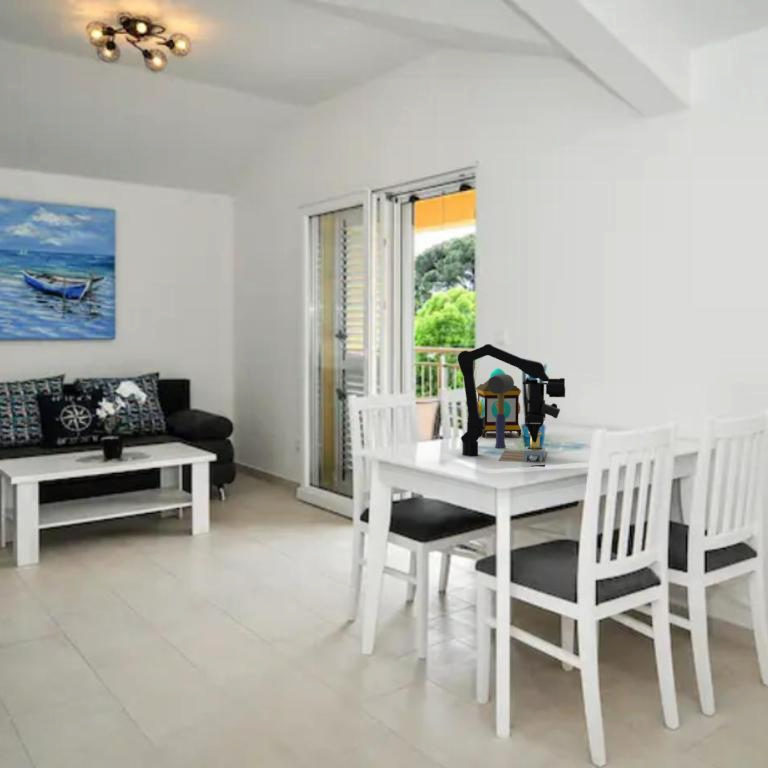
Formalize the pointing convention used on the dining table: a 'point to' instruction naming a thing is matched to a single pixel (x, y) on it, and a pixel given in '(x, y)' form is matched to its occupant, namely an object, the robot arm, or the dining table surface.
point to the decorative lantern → (490, 404)
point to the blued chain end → (534, 454)
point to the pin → (535, 444)
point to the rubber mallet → (500, 404)
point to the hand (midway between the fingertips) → (535, 440)
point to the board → (517, 457)
